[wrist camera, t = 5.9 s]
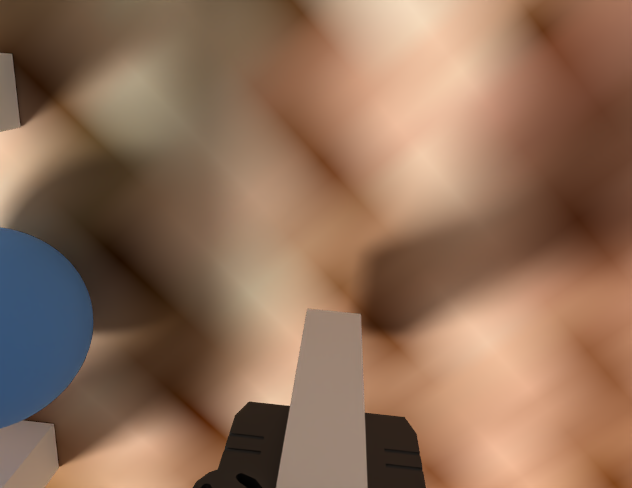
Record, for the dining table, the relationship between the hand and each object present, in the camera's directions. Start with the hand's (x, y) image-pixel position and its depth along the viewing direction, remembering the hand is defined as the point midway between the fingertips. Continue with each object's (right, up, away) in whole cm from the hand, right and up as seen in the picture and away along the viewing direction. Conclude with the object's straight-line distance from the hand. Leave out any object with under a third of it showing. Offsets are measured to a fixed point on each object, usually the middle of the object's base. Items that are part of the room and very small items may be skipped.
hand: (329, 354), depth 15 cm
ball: (-9, +1, -1) cm, 9 cm away
